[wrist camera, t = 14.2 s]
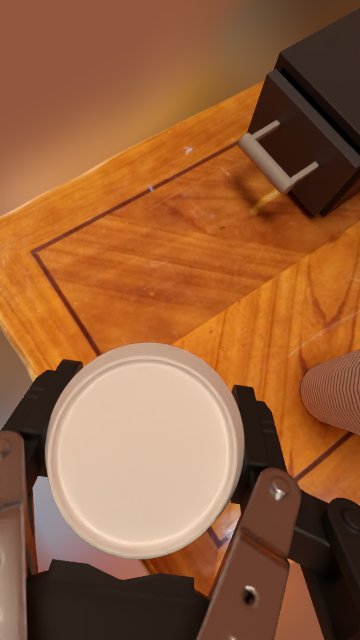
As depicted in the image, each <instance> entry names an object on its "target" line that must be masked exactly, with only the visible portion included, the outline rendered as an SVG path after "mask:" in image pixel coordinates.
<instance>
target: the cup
mask: <svg viewBox="0 0 360 640" xmlns="http://www.w3.org/2000/svg"><path fill="white" fill-rule="evenodd" d="M300 393H301V398H302V403H303V404H304V406H305V408H306V409H307V411H308V412H309V413H310V414H311V415H312V416H313V417H315V418H316V419H317V420H319V421H321V422H324V423H327V424H330V425H333V426H336V427H339V428H341V429H344V430H347V431H350V432H353V433H356V434H359V435H360V350H357V351H354V352H351V353H348V354H346V355H343V356H340V357H337V358H334V359H332V360H329V361H326V362H323V363H320V364H318V365H316V366H314V367H313V368H311V369H309V370H308V371H307V373H306V374H305V376H304V377H303V379H302V382H301V388H300Z"/></svg>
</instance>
